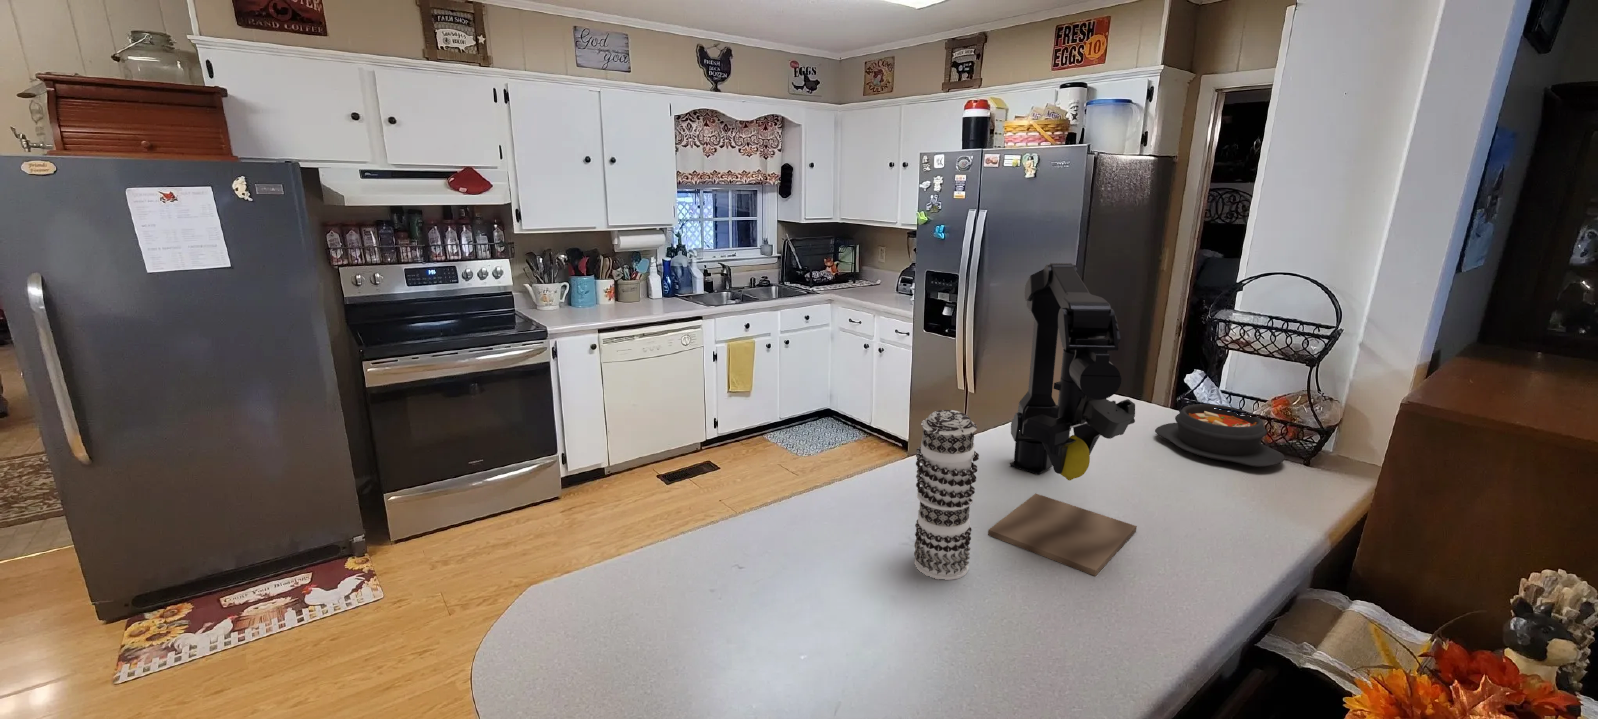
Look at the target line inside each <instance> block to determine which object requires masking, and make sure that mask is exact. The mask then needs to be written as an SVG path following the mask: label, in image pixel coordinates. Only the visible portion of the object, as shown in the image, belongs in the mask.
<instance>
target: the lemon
mask: <svg viewBox="0 0 1598 719" xmlns="http://www.w3.org/2000/svg"><path fill="white" fill-rule="evenodd" d="M1069 438H1072V439H1074V440H1076V441H1075V442H1074V443H1072V444H1071V445H1069V446H1068V448H1067V453H1066V458H1065V463H1064V467H1063V471H1062V473H1061V474H1060V476H1062V477H1064V478H1066V480H1067V481H1072V480H1073V479H1077V478H1081V477H1082V476H1083V475H1085V473H1086V472H1087V470H1088V469H1089V466H1090V462H1091V461H1090V460H1091V458H1090V457H1091V456H1090V455H1091V454H1089V449H1088V446H1087V444H1086V443H1085V442H1084V441H1083V440H1082V439H1080V438H1078V437H1077V436H1075V435H1074V434H1072V435H1070V436H1069Z"/></svg>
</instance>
